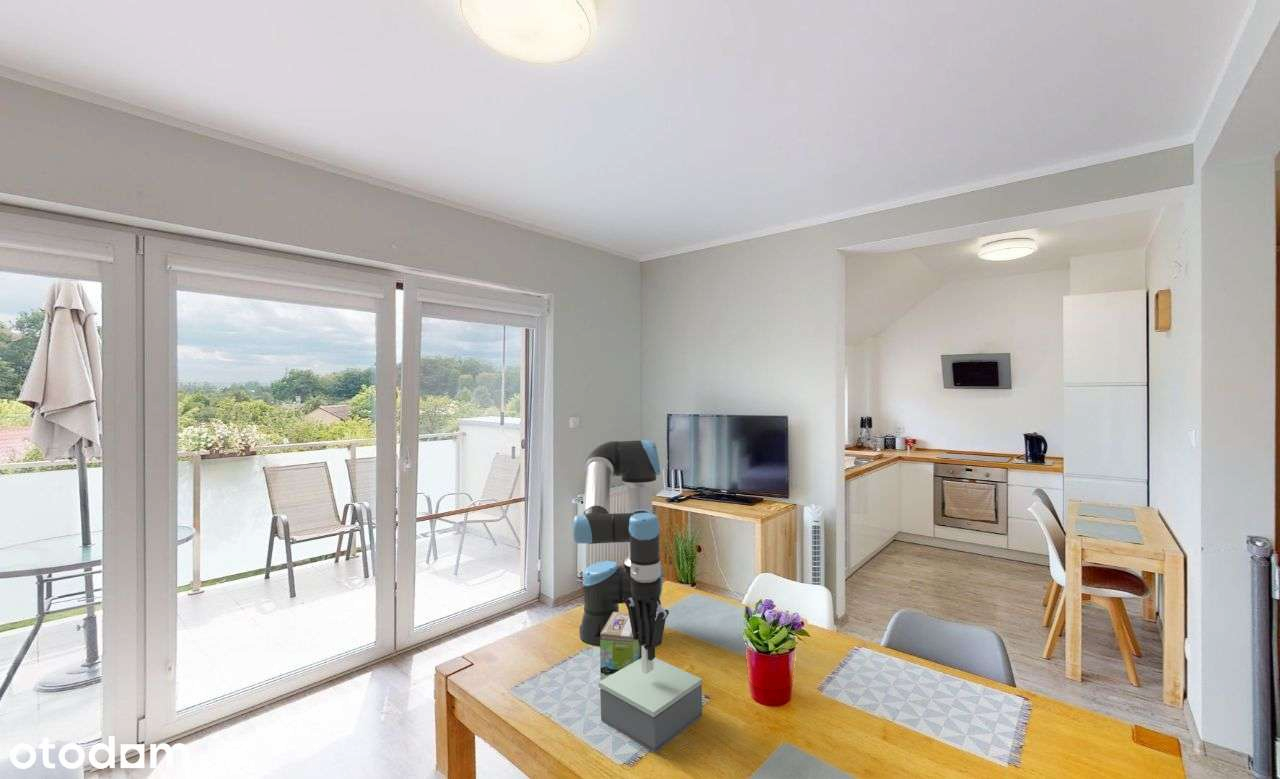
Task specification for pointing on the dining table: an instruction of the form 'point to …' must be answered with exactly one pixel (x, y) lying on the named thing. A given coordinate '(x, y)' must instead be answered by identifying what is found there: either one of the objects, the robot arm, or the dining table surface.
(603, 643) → the tea box
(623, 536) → the robot arm
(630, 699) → the lid
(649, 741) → the storage box
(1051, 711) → the dining table surface
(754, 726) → the dining table surface
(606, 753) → the dining table surface
